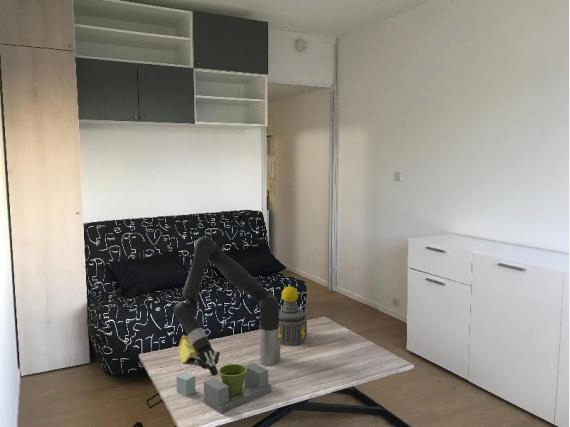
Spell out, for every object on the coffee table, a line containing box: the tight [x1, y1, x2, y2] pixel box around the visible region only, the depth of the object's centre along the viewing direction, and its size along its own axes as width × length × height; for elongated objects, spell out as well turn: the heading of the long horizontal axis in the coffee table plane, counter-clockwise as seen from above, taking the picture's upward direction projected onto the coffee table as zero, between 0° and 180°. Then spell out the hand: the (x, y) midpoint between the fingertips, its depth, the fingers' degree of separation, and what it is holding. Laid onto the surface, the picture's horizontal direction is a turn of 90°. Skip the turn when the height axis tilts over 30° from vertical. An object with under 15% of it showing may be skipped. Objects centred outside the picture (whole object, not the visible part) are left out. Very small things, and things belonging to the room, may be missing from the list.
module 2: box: [203, 377, 230, 413], centre depth 189 cm, size 5×10×9 cm, turn 44°
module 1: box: [175, 372, 196, 397], centre depth 200 cm, size 5×6×7 cm
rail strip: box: [218, 383, 272, 415], centre depth 192 cm, size 26×2×3 cm, turn 134°
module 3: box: [243, 362, 269, 390], centre depth 203 cm, size 5×10×9 cm, turn 44°
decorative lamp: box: [279, 286, 308, 346], centre depth 259 cm, size 19×19×30 cm
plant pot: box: [218, 363, 247, 400], centre depth 197 cm, size 12×12×11 cm
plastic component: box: [178, 335, 197, 364], centre depth 240 cm, size 20×7×10 cm
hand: (215, 375), depth 206 cm, fingers closed
